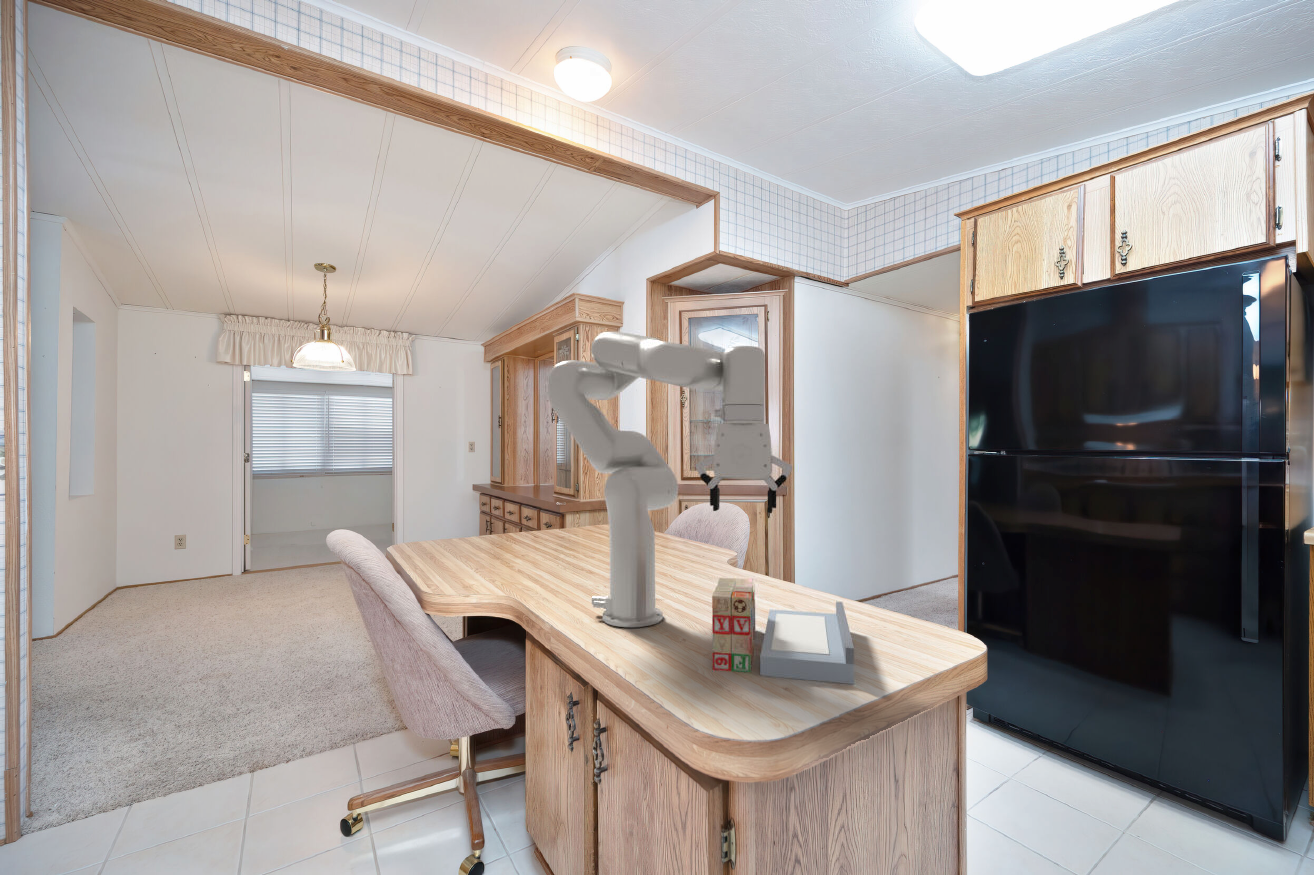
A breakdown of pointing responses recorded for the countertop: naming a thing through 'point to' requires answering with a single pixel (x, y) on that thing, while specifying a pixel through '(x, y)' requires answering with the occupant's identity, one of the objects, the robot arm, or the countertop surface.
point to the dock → (808, 646)
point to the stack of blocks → (733, 624)
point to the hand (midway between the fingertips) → (742, 511)
